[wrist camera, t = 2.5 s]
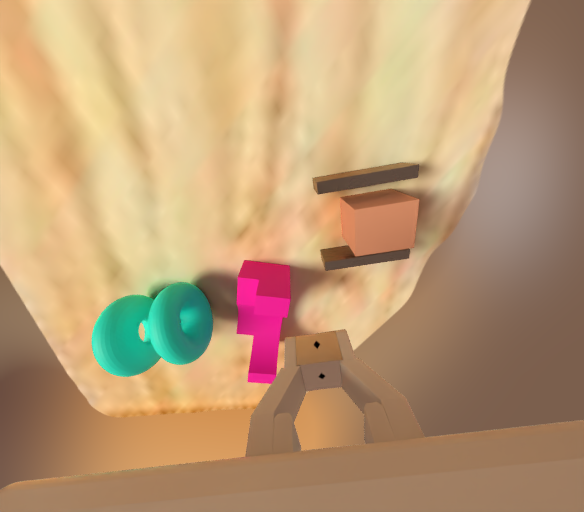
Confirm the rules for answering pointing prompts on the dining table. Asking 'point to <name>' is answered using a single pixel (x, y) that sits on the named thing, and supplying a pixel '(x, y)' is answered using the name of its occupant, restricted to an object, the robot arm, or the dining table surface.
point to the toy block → (263, 314)
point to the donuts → (153, 330)
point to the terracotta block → (379, 221)
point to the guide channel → (355, 179)
